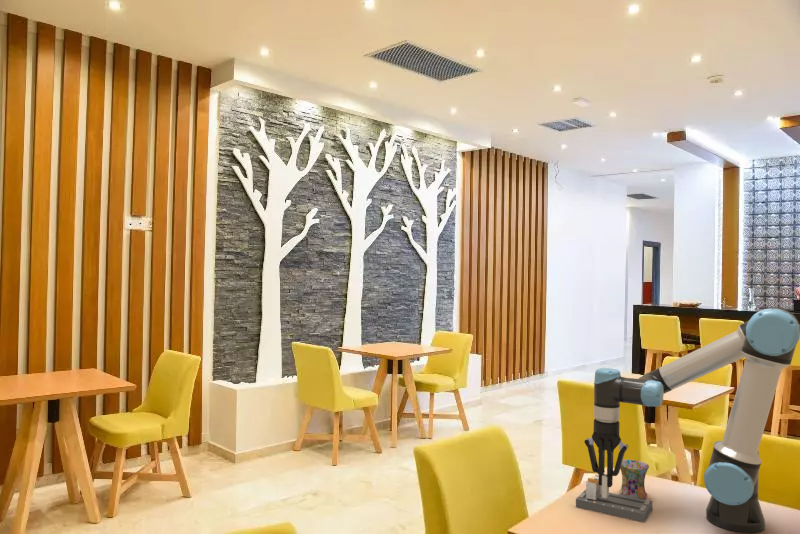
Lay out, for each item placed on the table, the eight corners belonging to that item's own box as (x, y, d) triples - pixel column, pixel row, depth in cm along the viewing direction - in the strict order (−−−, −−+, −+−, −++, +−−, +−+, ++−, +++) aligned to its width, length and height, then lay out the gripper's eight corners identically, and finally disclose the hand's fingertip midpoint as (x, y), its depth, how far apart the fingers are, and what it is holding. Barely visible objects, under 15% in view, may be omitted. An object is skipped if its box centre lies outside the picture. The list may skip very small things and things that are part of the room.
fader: (599, 496, 190) (599, 478, 190) (596, 500, 187) (596, 482, 187) (589, 494, 192) (589, 476, 192) (585, 498, 188) (586, 479, 188)
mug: (652, 502, 193) (653, 469, 193) (622, 501, 194) (623, 468, 194) (640, 489, 205) (640, 457, 205) (612, 488, 206) (612, 456, 206)
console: (652, 509, 188) (652, 482, 188) (644, 522, 178) (644, 494, 178) (586, 495, 198) (587, 470, 199) (575, 507, 188) (576, 480, 188)
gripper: (631, 420, 187) (630, 497, 187) (588, 414, 194) (587, 488, 194) (625, 425, 180) (624, 505, 180) (581, 418, 188) (580, 495, 187)
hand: (605, 496), depth 187 cm, fingers closed
